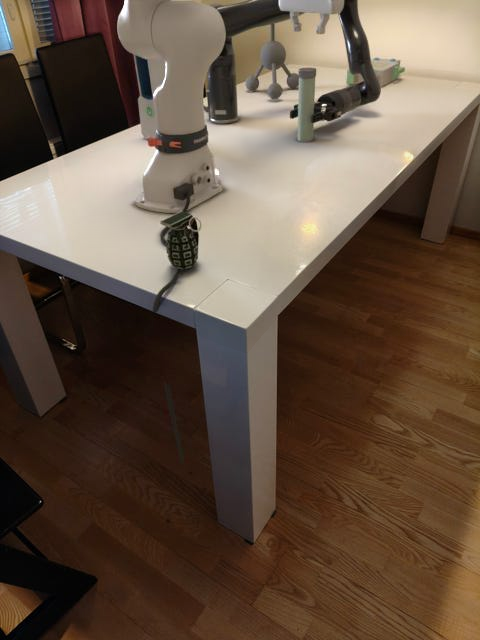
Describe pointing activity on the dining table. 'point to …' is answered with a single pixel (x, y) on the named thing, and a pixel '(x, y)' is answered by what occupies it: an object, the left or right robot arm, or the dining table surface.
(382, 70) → the grey box with clips
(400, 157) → the dining table surface
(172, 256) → the grenade
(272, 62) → the molecular model
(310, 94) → the mint green cylinder
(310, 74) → the lid
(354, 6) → the right robot arm
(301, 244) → the dining table surface
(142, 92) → the electronic device
